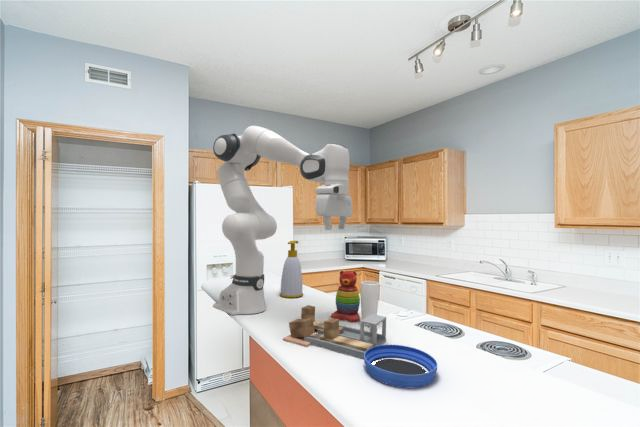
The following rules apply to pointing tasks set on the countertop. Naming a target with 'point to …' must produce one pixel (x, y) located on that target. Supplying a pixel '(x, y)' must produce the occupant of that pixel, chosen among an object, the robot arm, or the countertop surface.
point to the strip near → (333, 336)
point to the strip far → (310, 313)
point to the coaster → (299, 340)
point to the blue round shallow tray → (400, 365)
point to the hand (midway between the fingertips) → (335, 229)
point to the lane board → (355, 336)
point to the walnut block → (301, 327)
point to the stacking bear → (347, 298)
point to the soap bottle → (291, 275)
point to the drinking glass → (369, 298)
